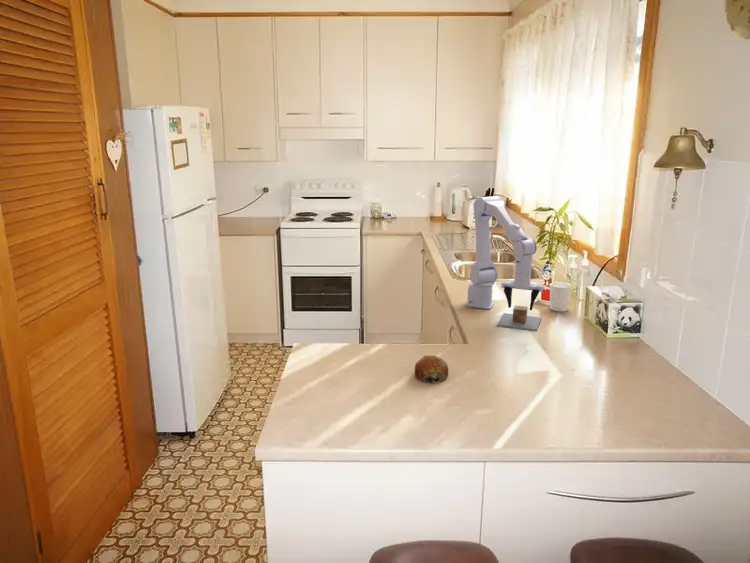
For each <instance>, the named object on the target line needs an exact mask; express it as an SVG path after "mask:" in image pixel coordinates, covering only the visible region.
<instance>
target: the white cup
mask: <svg viewBox="0 0 750 563" xmlns="http://www.w3.org/2000/svg"><path fill="white" fill-rule="evenodd" d="M549 287H550V288H549V309H550V310H551V311H555V312H566V311H568V309H569V304H570V298H571V291H572V284H570V283H568V282H561V281H560V282H559V281H556V282H555V281H554V282H550V285H549Z"/></svg>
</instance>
